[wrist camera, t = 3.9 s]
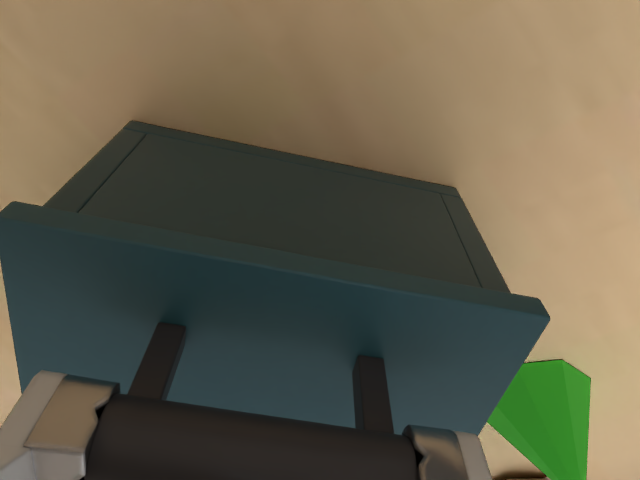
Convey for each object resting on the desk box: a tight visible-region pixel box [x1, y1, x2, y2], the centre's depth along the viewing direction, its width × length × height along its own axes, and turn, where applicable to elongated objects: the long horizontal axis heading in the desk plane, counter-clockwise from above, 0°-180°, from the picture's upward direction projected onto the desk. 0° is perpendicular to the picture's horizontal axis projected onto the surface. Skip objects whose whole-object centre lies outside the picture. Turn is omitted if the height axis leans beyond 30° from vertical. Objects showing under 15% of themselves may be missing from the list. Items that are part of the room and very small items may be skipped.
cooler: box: [43, 121, 511, 293], centre depth 19 cm, size 14×13×8 cm
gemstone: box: [487, 360, 591, 480], centre depth 23 cm, size 6×6×6 cm
